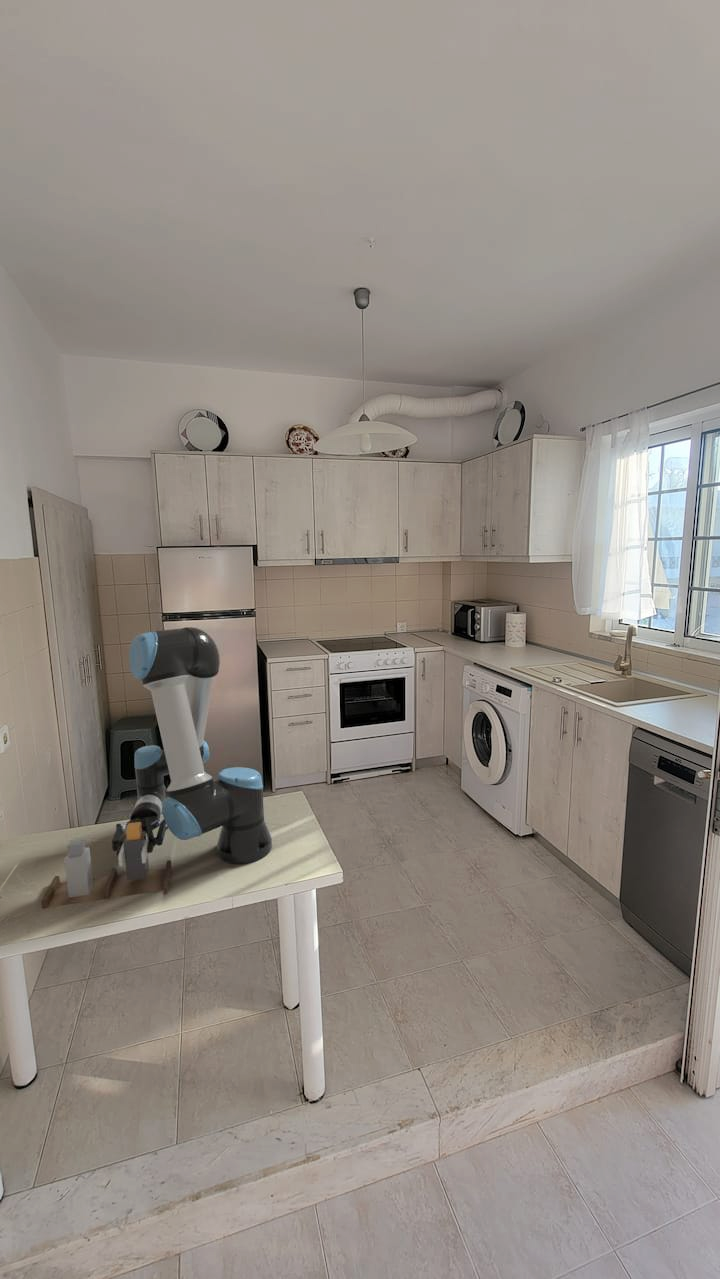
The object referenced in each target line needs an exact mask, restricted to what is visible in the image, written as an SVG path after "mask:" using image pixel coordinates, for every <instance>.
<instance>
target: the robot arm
mask: <svg viewBox="0 0 720 1279" xmlns="http://www.w3.org/2000/svg"><path fill="white" fill-rule="evenodd" d="M128 654H129V655H128V657H129V658H128V661H129V663H128V664H129V669H130V673H132V676H133V678H134V679H136V680H139V681H142V686H143V687H144V688H145V689H147V690H148V691H150V694H151V696H152V701H153V702H152V703H153V705H154V712H155V715H156V720H157V724H158V728H159V729H158V730H159V732H160V737H161V742H162V748H163V749H161V747H160V746H158V745H155V744H153V745H145V746H142V747H140V748H138V749H137V750H135V752H134V760H133V761H134V771H135V780H136V792H137V794H136V795H137V800H136V803H135V805H134V808H133V810H132V812H131V816H130V819H129V821H128V822H127V823H125V824H122V823H117V824H115V833H114V834H113V837H112V839H111V845H112V846H111V848H112V851H113V852H116V856H117V859H118V866H119V867H123V866H124V864H125V854H124V845H123V842H124V839H125V837H126V828H127V825H128V823H136V822H141V827H142V831H146V839H145V843H144V846H143V849H142V852H141V856H142V863H146V859H147V856H148V857H149V854H150V853H151V854H152V852H153V851H154V848H155V846H159V847H160V846H162V845H163V844H164V843H163V842H164V839H165V835H166V832H167V830H169V832H171V833H172V835H173V836H175V837H176V838H177V839H178V840H181V841H187V840H191V839H194V838H197V837H201V835H203V834H206V833H209V832H210V831H213V830H215V829H218V828H220V827H221V829H220V831H219V835H218V836H219V837H218V840H217V842H216V852H217V854H216V855H217V856H218V858H219V859H220V860H221V861H223V862H226V863H228V864H237V865H238V864H241V865H242V864H248V863H252V861H253V862H256V861H258V860H260V859H263V858H264V857H266V856H268V854H269V853H270V852H271V851H272V848H273V842H272V841H273V840H272V839H273V838H272V835H271V833H270V831H269V828H268V826H267V824H266V821H265V811H264V809H265V808H264V793H263V791H264V790H263V789H264V785H263V779H262V775H261V773H260V772H259V771H257V770H256V769H253V768H250V767H242V766H240V767H239V766H235V767H228V768H225V769H222V770H220V772H219V773H218V774H217V780H216V781H214V780H213V776H212V775H210V774H209V773H207V772H206V771H205V767H204V763H206V762H207V761H208V760H209V758H210V749H209V744H208V743H207V742H206V741H205V740H204V738H205V732H206V727H207V720H208V714H209V710H210V708H209V707H210V702H211V695H212V690H213V684H214V680H215V679H214V678H215V677H217V675H218V674H219V672H220V671H219V670H220V664H221V661H220V658H221V657H220V652H219V648H218V646H217V644H216V642H215V641H214V639H213V638H212V637H211V636H210V635H209V634H208V633H207V632H205V631H204V630H202V629H200V628H197V627H193V626H192V627H191V626H189V627H182V628H174V629H173V628H172V629H164V630H163V629H162V630H153V631H150V632H144V633H140V634H138V635H136V636H135V637H134V639H133V640H132V641H131V645H130V648H129V653H128ZM168 775H169V778H170V783H169V784H168V786H167V788H166V786H165V782H164V781H165V778H164V776H168ZM161 815H162V816H163V819H162V820H160V819H161ZM157 828H158V830H157V832H156V836H155V835H154V832H153V831H154V830H155V829H157ZM154 836H155V837H154Z"/></svg>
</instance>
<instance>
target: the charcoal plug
mask: <svg viewBox="0 0 720 1279" xmlns="http://www.w3.org/2000/svg"><path fill="white" fill-rule="evenodd" d="M125 834H126V837H125V839H124V842H123V845H124V854H125V860H124V864H125V874H126V876H127V880H130V879H137V878H144V877H146V876H147V872H148V870H149V869H150V866H149V865H150V864H149V855H148V856H147V859H146V863H142V856H141V852H142V849H143V846H144V843H145V839H147V833H146V831H142V827H141V822H136V823H128V825H127V828H126V830H125Z"/></svg>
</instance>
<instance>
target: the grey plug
mask: <svg viewBox="0 0 720 1279" xmlns="http://www.w3.org/2000/svg"><path fill="white" fill-rule="evenodd" d="M66 847H67V854H66V856H65V857H64V860H63V861H64V868H65V877H66V882H67V886H68V894H69V898H70V897H77V896H84V895H89V894H90V891H91V889H92V886H93V878H94V877H93V876H94V875H93V868H92V858H91V851H90V850H91V849H90V847H89V846H88V847H86V844H85V838H84V837H82V838H74V839H70V840H69V842H68V844H67V846H66Z"/></svg>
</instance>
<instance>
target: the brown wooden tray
mask: <svg viewBox="0 0 720 1279" xmlns="http://www.w3.org/2000/svg"><path fill="white" fill-rule="evenodd" d="M172 867H173V866H172V859H168V860H166V865H165V867H163V868H162V867H161V868H156V869H155V868H154V869H148V872H147V876H146V877H144V878H137V879H130V880H127V876H126V873H119V874H118V871H117V867H113V868H111V869H110V872H109V875H105V876H99V877H93V886H92V889H91V891H90V894H89V895H84V896H77V897H70V898H69V894H68V886H67V881H66V882H65V881H63V882H61V880H60V875H55V876H54V877H53V879H52V880H51V883H50V884H49V886H48V888H47V889H46V892H45V893H44V895H43V897H42V899H41V907H42V909H46V908H53V907H54V908H55V907H60V906H67V905H73V904H74V905H75V904H80V903H87V902H93V901H94V902H95V901H102V900H106V899H114V898H120V897H128V896H133V895H139V894H140V895H141V894H145V893H147V894H149V893H154V892H160V891H161V892H162V891H163V893H162V894H168V893H169V888H170V883H171V882H170V881H171V877H172V873H173V868H172Z"/></svg>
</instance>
